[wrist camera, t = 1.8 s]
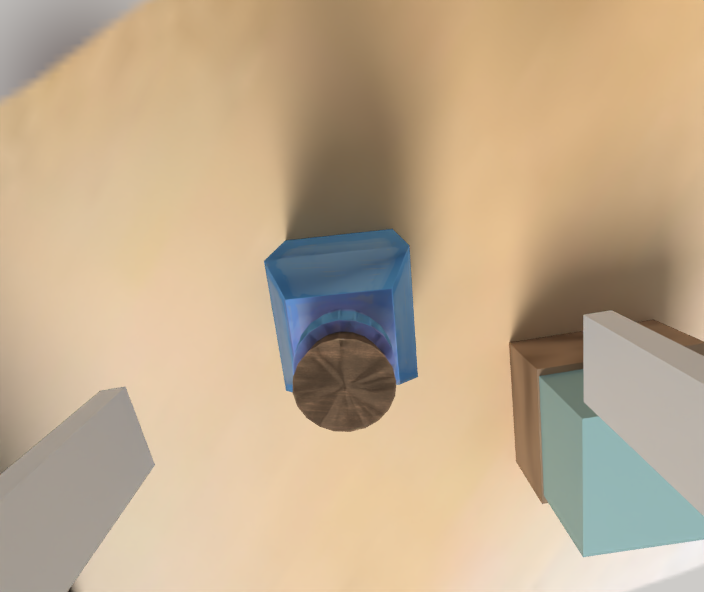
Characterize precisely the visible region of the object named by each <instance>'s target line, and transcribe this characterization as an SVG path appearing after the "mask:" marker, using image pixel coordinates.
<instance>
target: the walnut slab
mask: <svg viewBox="0 0 704 592" xmlns="http://www.w3.org/2000/svg"><path fill="white" fill-rule="evenodd" d="M637 323H638V324H640V325H642V326H644V327H646V328H648V329H650V330H652V331H654V332H656V333H658V334H660V335H662V336H664V337H666V338H668V339H670V340H672V341H674V342H676V343H678V344H680V345H682V346H684V347H686V348H688V349H690V350H692V351H694V352H696V353H699V354H701V355H703V356H704V342H703V341H701V340H699V339H696V338H694V337H692V336H690V335H687V334H685V333H683V332H681V331H678V330H676V329H674V328H671V327H669V326H667V325H665V324H662V323H660V322H658V321H655V320H649V321H643V322H637ZM509 348H510V365H511V382H512V399H513V416H514V433H515V450H516V462H517V464H518V465H519V467H520V469H521V470H522V472H523V473H524V475H525V477H526V478H527V480H528V482H529V483H530V485H531V486H532V488H533V490H534V491H535V493H536V494H537V496H538V498H539V499H540V501H541V503H542V504H544V503H548V501H547V500H546V498H545V497H544V487H543V462H542V437H541V412H540V387H539V376H543V375H549V374H556V373H562V372H568V371H574V370H581V369H583V331H580V332H574V333H568V334H561V335H555V336H549V337H543V338H536V339H530V340H524V341H518V342H511V343H509Z"/></svg>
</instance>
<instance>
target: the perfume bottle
mask: <svg viewBox="0 0 704 592" xmlns="http://www.w3.org/2000/svg"><path fill="white" fill-rule="evenodd" d="M264 263H265V269H266V275H267V281H268V287H269V293H270V298H271V304H272V310H273V316H274V322H275V328H276V334H277V339H278V345H279V351H280V357H281V363H282V369H283V375H284V380H285V386H286V391H290V392H293V395H294V398H295V401H296V403H297V406H298V407H299V409H300V410H301V411H302V412H303V414H304V415H305V416H306V418H308V419H309V420H311V421H312V422H314V423H315V424H317V425H318V426H320V427H323V428H326V429H329V430H332V431H345V432H351V431H355V430H359V429H363V428H366V427H368V426H369V425H371V424H373V423H375V422H376V421H378V420H379V419H380V418H381V417H382V416H383V415H384V414H385V413H386V412H387V411H388V410H389V408H390V406H391V404H392V401H393V399H394V397H395V391H396V385H400V384H402V383H404V382H407V381H409V380H412V379H414V378H416V377H418V372H417V357H416V341H415V326H414V310H413V295H412V279H411V264H410V248H409V245H408V244H407V243H406V242H405V241H404V240H403V239H402V238H401V237H400V236H399V235H398V234H397V233H396V232H395V231H394V230H393V229H387V230H378V231H369V232H359V233H350V234H341V235H332V236H322V237H313V238H304V239H295V240H285V241H284V242H283V243H282V244H281V245H280V246H279V247H278V248H277V249H276V250H275V251H274V252H273V253H272V254H271V255H270V256H269V257H268V258H267V259H266V260H265V261H264Z"/></svg>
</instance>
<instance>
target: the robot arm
mask: <svg viewBox="0 0 704 592" xmlns="http://www.w3.org/2000/svg"><path fill="white" fill-rule="evenodd" d="M583 374H584V403H585V404H586V405H587V406H588V407H590V408H591V409H592V410H593V411H594V412H595V413H596V414H597V415H598V416H599V417H600V418H601V419H602V420H603V421H604V422H605V423H606V424H607V425H608V426H609V427H611V428H612V429H613V430H614V431H615V432H616V433H617V434H618V435H619V436H620V437H621V438H622V439H623V440H624V441H625V442H626V443H627V444H628V445H629V446H630V447H632V448H633V449H634V450H635V451H636V452H637V453H638V454H639V455H640V456H641V457H642V458H643V459H644V460H645V461H646V462H647V463H648V464H649V465H650V466H651V467H653V468H654V469H655V470H656V471H657V472H658V473H659V474H660V475H661V476H662V477H663V478H664V479H665V480H666V481H667V482H668V483H669V484H670V485H671V486H672V487H674V488H675V489H676V490H677V491H678V492H679V493H680V494H681V495H682V496H683V497H684V498H685V499H686V500H687V501H688V502H689V503H690V504H691V505H692V506H693V507H695V508H696V509H697V510H698V511H699V512H700V513H701V514H702V515H703V516H704V356H703V355H701V354H699V353H696V352H694V351H692V350H690V349H688V348H686V347H684V346H682V345H680V344H678V343H676V342H674V341H672V340H670V339H668V338H666V337H664V336H662V335H660V334H658V333H656V332H654V331H652V330H650V329H648V328H646V327H644V326H642V325H640V324H638V323H636V322H634V321H632V320H630V319H628V318H626V317H624V316H622V315H620V314H618V313H616V312H614V311H612V310H610V311H604V312H597V313H591V314H584V315H583ZM154 465H155V464H154V462H153V459H152V456H151V454H150V451H149V448H148V446H147V443H146V440H145V438H144V435H143V432H142V430H141V427H140V424H139V422H138V419H137V416H136V413H135V411H134V408H133V405H132V403H131V400H130V397H129V395H128V392H127V389H126V387H121V388H114V389H108V390H102V391H99V392H98V393H97V394H96V395H95V396H93V397H92V398H91V399H90V400H89V401H87V402H86V403H85V404H84V405H83V406H81V407H80V408H79V409H78V410H77V411H75V412H74V413H73V414H72V415H71V416H69V417H68V418H67V419H66V420H65V421H64V422H62V423H61V424H60V425H59V426H58V427H56V428H55V429H54V430H53V431H52V432H50V433H49V434H48V435H47V436H46V437H44V438H43V439H42V440H41V441H40V442H38V443H37V444H36V445H35V446H34V447H33V448H31V449H30V450H29V451H28V452H27V453H25V454H24V455H23V456H22V457H21V458H19V459H18V460H17V461H16V462H15V463H13V464H12V465H11V466H10V467H9V468H7V469H6V470H5V471H4V472H3V473H2V474H0V592H69V591H68V590H69V589H70V587H71V586H72V584H73V583H74V582H75V580H76V579H77V577H78V576H79V574H80V573H81V571H82V570H83V569H84V567H85V566H86V564H87V563H88V561H89V560H90V558H91V557H92V555H93V554H94V553H95V551H96V550H97V548H98V547H99V545H100V544H101V542H102V541H103V539H104V538H105V537H106V535H107V534H108V532H109V531H110V529H111V528H112V526H113V525H114V524H115V522H116V521H117V519H118V518H119V516H120V515H121V513H122V512H123V510H124V509H125V508H126V506H127V505H128V503H129V502H130V500H131V499H132V497H133V496H134V495H135V493H136V492H137V490H138V489H139V487H140V486H141V484H142V483H143V481H144V480H145V479H146V477H147V476H148V474H149V473H150V471H151V470H152V468H153V467H154Z"/></svg>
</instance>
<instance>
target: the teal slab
mask: <svg viewBox="0 0 704 592" xmlns="http://www.w3.org/2000/svg"><path fill="white" fill-rule="evenodd" d="M539 387H540V412H541V437H542V462H543V487H544V497H545V498H546V500H547V501H548V503H549V504H550V506H551V508H552V509H553V511H554V512H555V514H556V515H557V517H558V518H559V520H560V522H561V523H562V525H563V526H564V528H565V529H566V531H567V533H568V534H569V536H570V537H571V539H572V540H573V542H574V543H575V545H576V547H577V548H578V550H579V551H580V553H581V554H582V556H583V557H587V556H594V555H601V554H607V553H614V552H621V551H628V550H635V549H642V548H648V547H655V546H662V545H669V544H676V543H683V542H689V541H696V540H703V539H704V516H703V515H702V514H701V513H700V512H699V511H698V510H697V509H696V508H695V507H693V506H692V505H691V504H690V503H689V502H688V501H687V500H686V499H685V498H684V497H683V496H682V495H681V494H680V493H679V492H678V491H677V490H676V489H675V488H674V487H672V486H671V485H670V484H669V483H668V482H667V481H666V480H665V479H664V478H663V477H662V476H661V475H660V474H659V473H658V472H657V471H656V470H655V469H654V468H653V467H651V466H650V465H649V464H648V463H647V462H646V461H645V460H644V459H643V458H642V457H641V456H640V455H639V454H638V453H637V452H636V451H635V450H634V449H633V448H632V447H630V446H629V445H628V444H627V443H626V442H625V441H624V440H623V439H622V438H621V437H620V436H619V435H618V434H617V433H616V432H615V431H614V430H613V429H612V428H611V427H609V426H608V425H607V424H606V423H605V422H604V421H603V420H602V419H601V418H600V417H599V416H598V415H597V414H596V413H595V412H594V411H593V410H592V409H591V408H590V407H588V406H587V405H586V404H585V403H584V374H583V369H581V370H574V371H568V372H562V373H556V374H549V375H543V376H539Z"/></svg>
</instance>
